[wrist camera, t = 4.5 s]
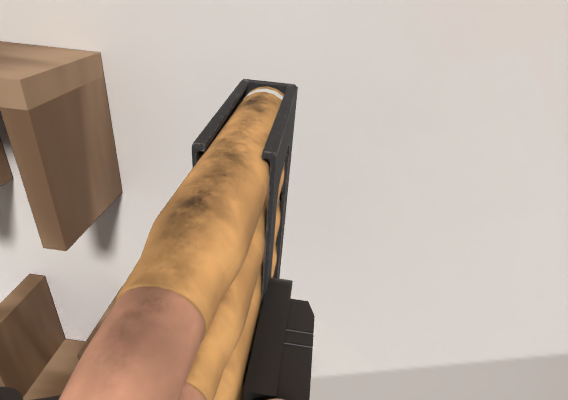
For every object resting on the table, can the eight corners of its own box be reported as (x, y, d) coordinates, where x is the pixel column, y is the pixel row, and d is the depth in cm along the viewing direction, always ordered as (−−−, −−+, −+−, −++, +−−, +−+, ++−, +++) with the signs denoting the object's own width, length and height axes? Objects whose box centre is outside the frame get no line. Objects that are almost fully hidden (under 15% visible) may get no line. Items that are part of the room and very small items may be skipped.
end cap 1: (-5, 175, 20) (-94, 229, 16) (-55, 35, 17) (-186, 56, 12) (122, 191, 20) (66, 251, 16) (100, 52, 16) (19, 79, 12)
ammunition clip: (275, 315, 18) (192, 785, 7) (236, 310, 18) (101, 764, 8) (297, 83, 12) (98, 653, 2) (241, 77, 12) (-235, 585, 2)
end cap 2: (137, 288, 24) (95, 358, 19) (148, 359, 27) (115, 431, 23) (29, 273, 24) (-36, 339, 20) (55, 346, 28) (4, 414, 23)
